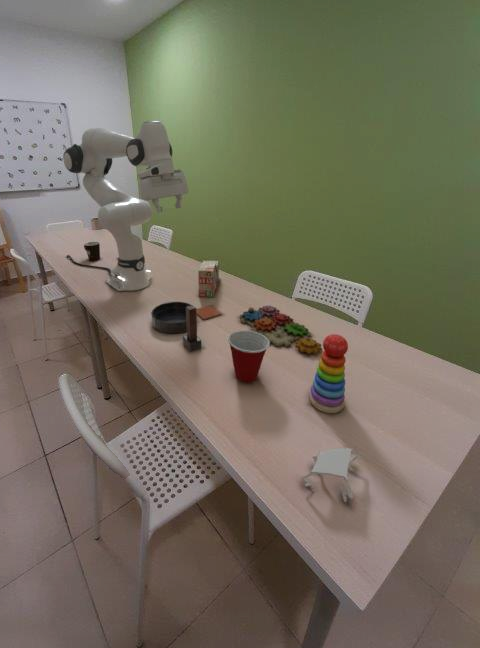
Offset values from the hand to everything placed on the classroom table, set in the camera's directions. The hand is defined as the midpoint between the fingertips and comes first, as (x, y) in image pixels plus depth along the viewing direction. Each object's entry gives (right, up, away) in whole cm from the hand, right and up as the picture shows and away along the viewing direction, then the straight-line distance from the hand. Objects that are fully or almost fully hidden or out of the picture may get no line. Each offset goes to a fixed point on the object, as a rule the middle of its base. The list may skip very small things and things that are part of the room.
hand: (169, 210), depth 111 cm
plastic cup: (+23, -53, -28) cm, 64 cm away
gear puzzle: (+38, -44, -8) cm, 59 cm away
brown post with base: (+8, -47, -14) cm, 50 cm away
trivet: (+14, -39, +6) cm, 41 cm away
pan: (+2, -41, 0) cm, 42 cm away
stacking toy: (+41, -57, -37) cm, 79 cm away
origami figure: (+35, -65, -54) cm, 92 cm away
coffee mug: (-51, -11, +72) cm, 89 cm away
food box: (+16, -29, +28) cm, 43 cm away
